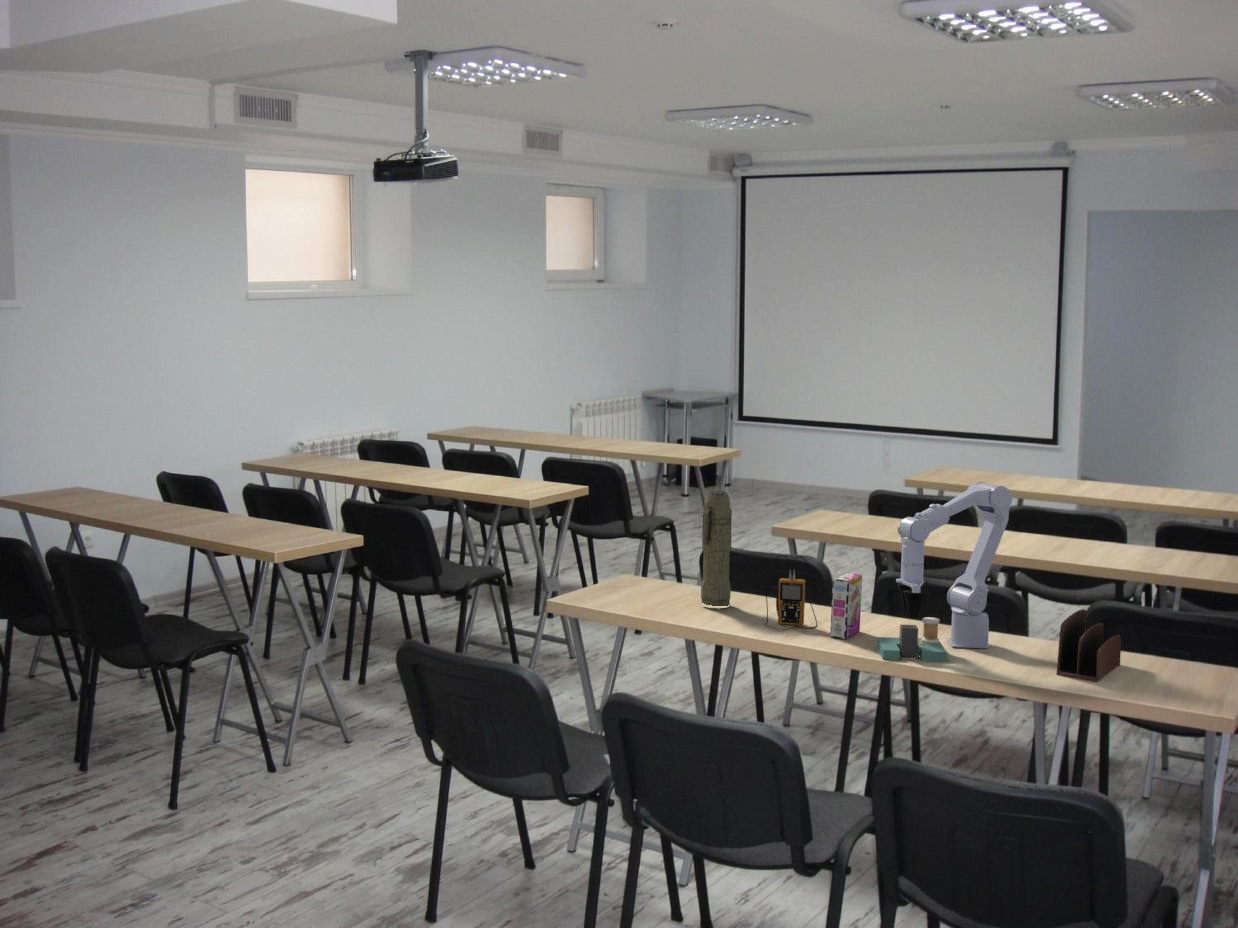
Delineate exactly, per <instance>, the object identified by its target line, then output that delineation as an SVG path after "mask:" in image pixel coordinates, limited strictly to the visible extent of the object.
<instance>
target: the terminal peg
mask: <svg viewBox="0 0 1238 928" xmlns="http://www.w3.org/2000/svg"><path fill="white" fill-rule="evenodd" d="M899 638H900V642H899V650H900V659H901V658H913V659H912V660H917V659H918V654H917V646H918V638H919V628H918V626H917V625H916V624H899ZM914 658H915V659H914Z"/></svg>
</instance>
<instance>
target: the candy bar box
mask: <svg viewBox="0 0 1238 928" xmlns="http://www.w3.org/2000/svg"><path fill="white" fill-rule="evenodd" d="M862 587H863V574H858V573H850V572H846V573H844V574H842V575H839V576H838V577H835V578H833V579H832V591H831V592H832V593H831V595H832V596H831V610H830V611H831V612H830V613H831V614H830V615H831V616H830V631H829V632H830V633H829V634H830V635H829V637H830V638H833V639H834V638H835V639H839V640H847V639H849V638H850V637H852V636H854V635H856V634H858V633H859V632H860V630H861V612H862V611H861V610H862V609H861V607H862V591H863V588H862Z"/></svg>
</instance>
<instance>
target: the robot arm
mask: <svg viewBox="0 0 1238 928" xmlns="http://www.w3.org/2000/svg"><path fill="white" fill-rule="evenodd" d="M1012 502H1013V497H1012V494H1011V492H1010V490H1009V489H1008V488H1007V487H1006V486H1004V485H999V484H998V485H997V484H991V483H987V482H983V481H978V482H975V483H974V484H972V485H969V486H968V487H967V489H966V490H965V491H963V492H961V493H959V495H957V496H956V497H954V498H953V499H951V500H949V501H947V502H946V503H944V504H943V505H942V504H940V503H936V504H935V503H931V504H929V506H928V508H927V509H924V510H923V511H921V512H916V513H914V514H915V515H914V516H913V517H912V516H907V517H904V518H903V519H902V520H901V521H900V523H899V525H898V527H897V532H898V535H899V536H900V543H901V561H900V562H901V563H900V567H901V568H900V578H896V579H895V582H896V583H897V586H898V589H899V591H900V594H901V600H902V606H903V609H904V611H905V612H907V613H908V617H909V618H910V619H917V618H918V617H919V613H920V610H921V606H922V603H923V601H924V600H925V598H926V596H927V592H926V591H921V587H922V586H923V585H924V583H925V580H924V568H925V567H924V563H925V541H926V540H927V539H928V538H929V536H930V534H931V533H932V532H934V531H935V530H937V529H939V528H941V527H943V526H945V525H947V524H948V523H949V520H950V517H952V516H954V515H957V514H958V513H961V512H962V511H964V510H967V509H969V508H971V507H973V506H975V507H976V508H977V509H978V510H979V511H980V513H982V516H983V517H984V520H985V521H984V523H983V526H982V529H981V531H980V533H979V536H978V538H977V540H976V544H975V546H974V548H973V551H972V553H971V556H970V559H969V561H968V564H967V566H966V569H965V572H964V573H963V574H962V575H960V576H959V577H957V578H956V579H955V582H954V583H953V585H952V586H951V587H949V589H948V591H947V594H946V601H947V603H948V605H950V610H951V627H950V628H951V630H950V631H951V632H950V633H951V634H950V638H949V637H947V638H946V640H947V642H948V643H949V644H950V647H952V648H964V649H965V648H968V649H989V629H990V625H989V624H990V622H989V620H990V619H989V615H988V613H987V612H983V611H984V610H985V608H986V606H987V596H988V593H989V588H988V587H987V584H986V578H987V576H988V574H989V571H990V568H991V566H992V563H993V560H994V558H995V556H996V553H997V550H998V549H999V545H1000V543H1001V540H1002V538H1003V535H1004V533H1005V529H1006V528H1007V525H1008V523H1009V517H1010V507H1011V505H1012Z"/></svg>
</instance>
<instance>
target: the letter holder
mask: <svg viewBox="0 0 1238 928" xmlns="http://www.w3.org/2000/svg"><path fill="white" fill-rule="evenodd" d="M1087 619H1088V611H1087V610H1086V609H1081V610H1080V609H1079V610H1077V611H1075V612H1073V613H1072V614H1071V615H1069V616H1068V617H1067V618H1066V619H1065V620H1063V621H1062V623H1061V625H1060V629H1059V638H1058V651H1057V664H1056V665H1057V667H1056V675H1057V676H1060V677H1061V676H1062V677H1067V678H1073V679H1077V680H1083V681H1089V682H1095V683H1097V682H1099V681H1100V680H1101V679H1103V678H1105V676H1107V675H1109V674H1110V673H1111V672H1112V671H1114V670H1115V669H1116V668H1117V667H1118V666H1120V665H1121V650H1122V649H1121V646H1122V645H1121V642H1122V639H1121V635H1120V634H1116V635H1113V636H1110V637H1109V638H1108V639H1107V640H1105V641H1104V630H1105V629H1104V625H1105V624H1104V623H1103V622H1099V623H1098V622H1097V623H1095V624H1093V625H1091V626H1090V627H1088V628H1087ZM1103 641H1104V642H1103Z"/></svg>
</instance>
